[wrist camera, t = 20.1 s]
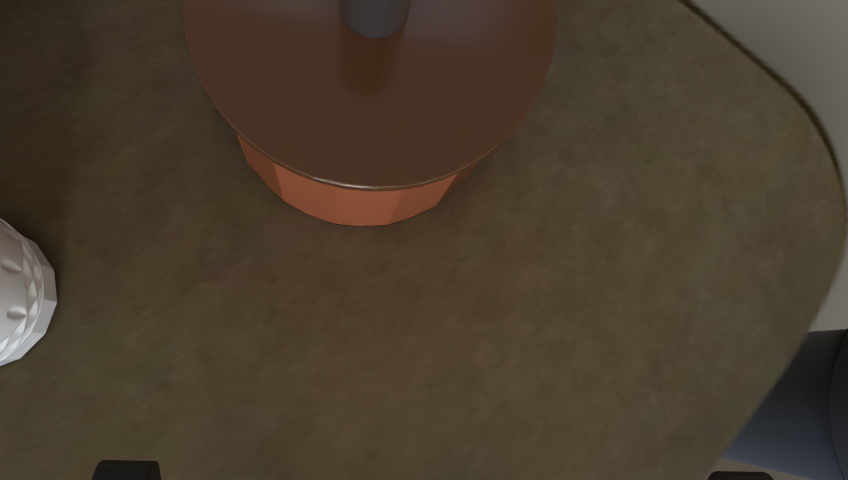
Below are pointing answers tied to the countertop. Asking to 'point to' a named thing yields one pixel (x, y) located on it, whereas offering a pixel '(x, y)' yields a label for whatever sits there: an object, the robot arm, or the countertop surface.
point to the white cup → (23, 294)
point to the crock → (348, 195)
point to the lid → (372, 81)
